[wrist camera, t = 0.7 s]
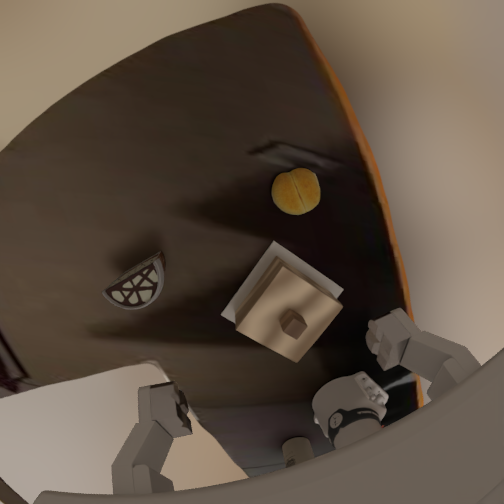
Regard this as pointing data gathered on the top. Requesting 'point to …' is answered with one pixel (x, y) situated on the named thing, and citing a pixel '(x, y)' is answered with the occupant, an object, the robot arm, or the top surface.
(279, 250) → the white paper sheet
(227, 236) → the top surface
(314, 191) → the bread roll
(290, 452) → the travel mug
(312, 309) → the tan block
